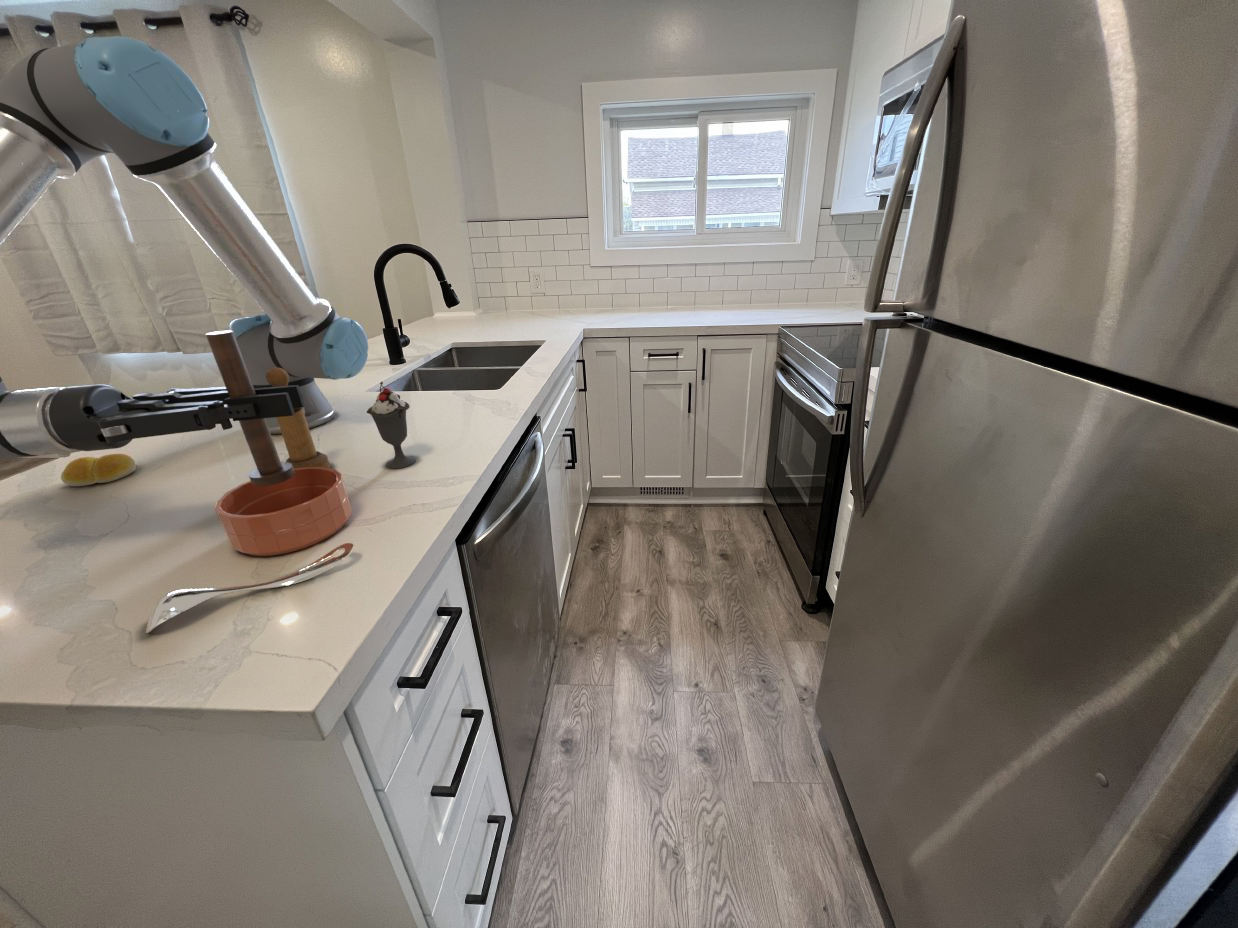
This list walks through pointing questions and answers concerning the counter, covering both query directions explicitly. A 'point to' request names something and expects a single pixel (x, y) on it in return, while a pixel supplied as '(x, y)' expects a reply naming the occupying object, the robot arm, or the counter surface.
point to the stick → (255, 429)
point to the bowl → (285, 512)
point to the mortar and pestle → (296, 430)
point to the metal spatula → (235, 589)
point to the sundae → (392, 424)
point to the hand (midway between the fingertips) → (295, 400)
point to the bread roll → (97, 469)
